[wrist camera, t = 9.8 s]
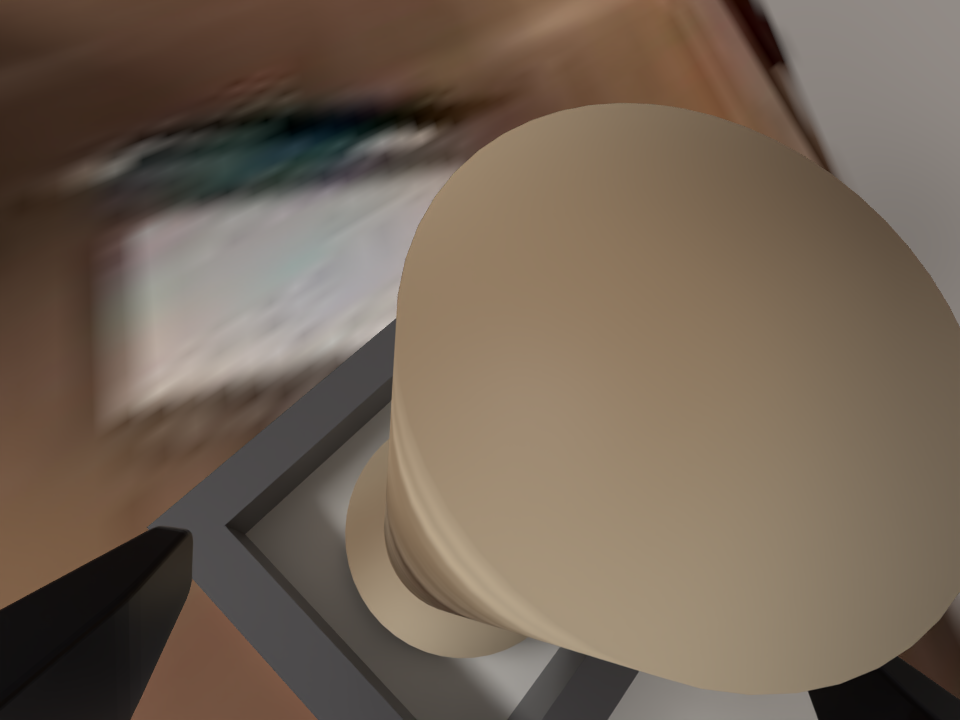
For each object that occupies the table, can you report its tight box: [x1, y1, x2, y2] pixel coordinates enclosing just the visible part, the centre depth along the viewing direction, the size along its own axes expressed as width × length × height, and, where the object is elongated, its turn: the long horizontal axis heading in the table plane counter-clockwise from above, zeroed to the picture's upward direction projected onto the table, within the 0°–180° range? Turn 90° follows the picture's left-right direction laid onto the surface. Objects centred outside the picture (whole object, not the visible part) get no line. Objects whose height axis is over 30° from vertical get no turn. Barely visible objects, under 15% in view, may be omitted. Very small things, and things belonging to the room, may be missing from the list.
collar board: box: [147, 319, 818, 720], centre depth 16 cm, size 18×15×3 cm
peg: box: [345, 103, 960, 695], centre depth 10 cm, size 6×6×13 cm
